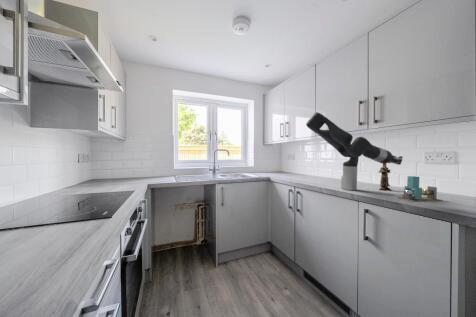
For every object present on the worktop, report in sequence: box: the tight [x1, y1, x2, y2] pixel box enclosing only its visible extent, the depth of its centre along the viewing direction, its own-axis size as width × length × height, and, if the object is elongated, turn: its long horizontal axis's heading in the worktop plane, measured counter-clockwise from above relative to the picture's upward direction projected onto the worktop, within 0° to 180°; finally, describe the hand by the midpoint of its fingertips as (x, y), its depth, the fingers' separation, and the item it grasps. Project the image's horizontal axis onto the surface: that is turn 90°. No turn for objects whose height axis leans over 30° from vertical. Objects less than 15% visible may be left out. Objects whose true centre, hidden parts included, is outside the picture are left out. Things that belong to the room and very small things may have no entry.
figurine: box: [378, 163, 392, 192], centre depth 142 cm, size 6×10×25 cm
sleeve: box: [403, 175, 423, 199], centre depth 110 cm, size 4×6×12 cm, turn 7°
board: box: [397, 196, 443, 202], centre depth 111 cm, size 20×8×1 cm, turn 97°
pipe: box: [401, 186, 438, 200], centre depth 111 cm, size 18×4×7 cm, turn 97°
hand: (399, 162), depth 111 cm, fingers closed
